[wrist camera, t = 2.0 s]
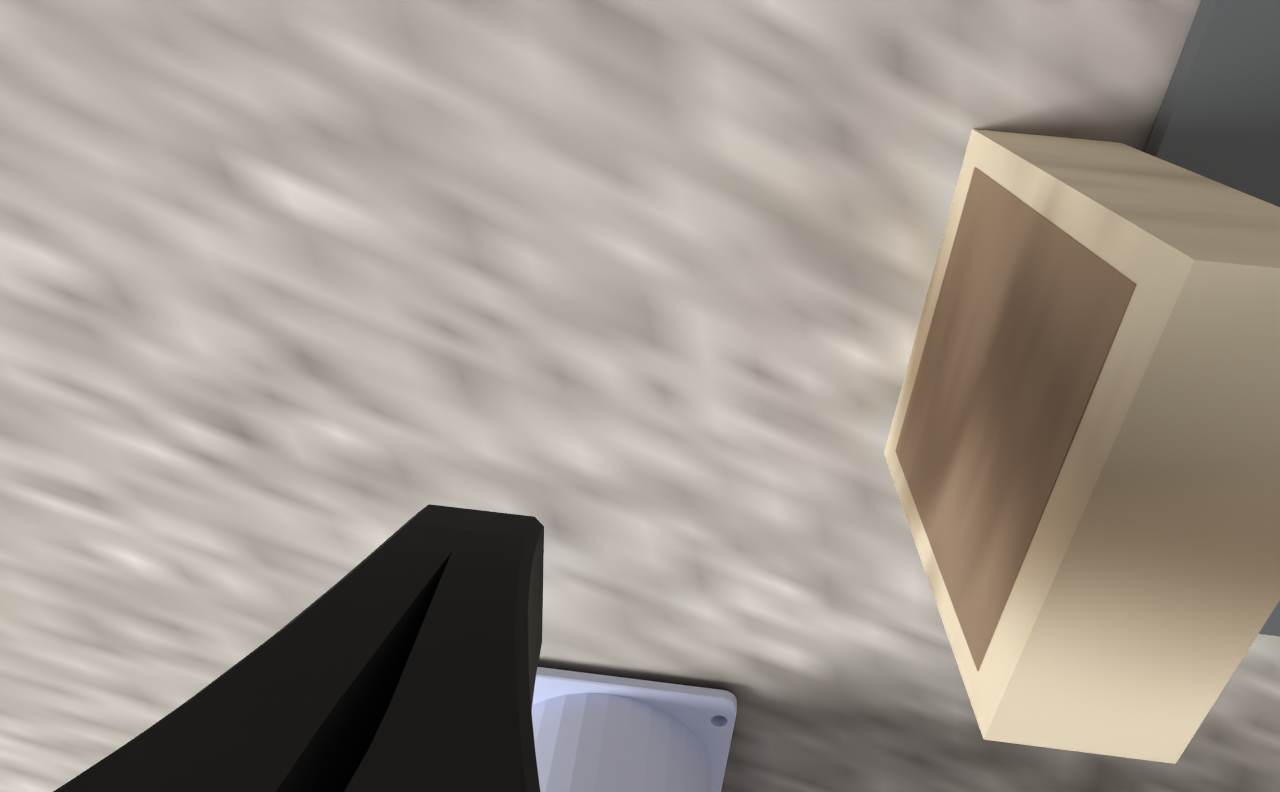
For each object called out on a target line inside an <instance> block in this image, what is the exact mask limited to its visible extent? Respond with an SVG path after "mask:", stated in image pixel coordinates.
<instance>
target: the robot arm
mask: <svg viewBox="0 0 1280 792" xmlns="http://www.w3.org/2000/svg"><path fill="white" fill-rule="evenodd" d="M543 552H544V526H543V525H542V524H541V523H540V522H539V521H538V520H537V519H536V518H535V517H532V516H523V515H514V514H506V513H497V512H489V511H480V510H472V509H463V508H454V507H446V506H437V505H428V506H426V507H425V508H424V509H422V510H421V511H420V512H418V513H417V514H416V515H415V516H414V517H413V518H411V519H410V520H409V521H408V522H407V523H406V524H404V525H403V526H402V527H401V528H400V529H399V530H398V531H396V532H395V533H394V534H393V535H392V536H391V537H390V538H388V539H387V540H386V541H385V542H384V543H383V544H382V545H380V546H379V547H378V548H377V549H376V550H375V551H374V552H373V553H371V554H370V555H369V556H368V557H367V558H366V559H364V560H363V561H362V562H361V563H360V564H359V565H358V566H356V567H355V568H354V569H353V570H352V571H351V572H349V573H348V574H347V575H346V576H345V577H344V578H342V579H341V580H340V581H339V582H338V583H337V584H335V585H334V586H333V587H332V588H331V589H329V590H328V591H327V592H326V593H325V594H323V595H322V596H321V597H320V598H319V599H317V600H316V601H315V602H314V603H312V604H311V605H310V606H309V607H308V608H306V609H305V610H304V611H303V612H302V613H300V614H299V615H298V616H297V617H296V618H294V619H293V620H292V621H291V622H289V623H288V624H287V625H286V626H285V627H283V628H282V629H281V630H280V631H278V632H277V633H276V634H275V635H273V636H272V637H271V638H270V639H268V640H267V641H266V642H265V643H263V644H262V645H261V646H259V647H258V648H257V649H255V650H254V651H253V652H251V653H250V654H249V655H248V656H246V657H245V658H244V659H242V660H241V661H240V662H238V663H237V664H236V665H234V666H233V667H232V668H230V669H229V670H228V671H226V672H225V673H224V674H222V675H221V676H220V677H218V678H217V679H216V680H215V681H213V682H212V683H211V684H209V685H208V686H207V687H205V688H204V689H203V690H201V691H200V692H199V693H197V694H196V695H195V696H193V697H192V698H191V699H189V700H188V701H187V702H185V703H184V704H182V705H181V706H180V707H178V708H177V709H175V710H174V711H173V712H171V713H170V714H168V715H167V716H165V717H164V718H163V719H161V720H160V721H158V722H157V723H156V724H154V725H153V726H151V727H150V728H149V729H147V730H146V731H144V732H143V733H141V734H140V735H138V736H137V737H135V738H134V739H132V740H131V741H130V742H128V743H127V744H125V745H124V746H122V747H121V748H119V749H118V750H116V751H115V752H113V753H112V754H110V755H109V756H107V757H106V758H104V759H103V760H101V761H100V762H98V763H97V764H95V765H93V766H92V767H90V768H89V769H87V770H86V771H84V772H83V773H81V774H80V775H78V776H77V777H75V778H74V779H72V780H71V781H69V782H68V783H66V784H65V785H63V786H61V787H60V788H58V789H57V790H55V791H54V792H721V789H722V784H723V779H724V774H725V769H726V764H727V759H728V754H729V749H730V744H731V739H732V734H733V729H734V724H735V719H736V714H737V699H736V697H735V696H734V695H733V694H732V693H730V692H729V691H725V690H719V689H711V688H703V687H695V686H687V685H679V684H671V683H663V682H655V681H647V680H639V679H631V678H623V677H615V676H607V675H599V674H591V673H583V672H575V671H567V670H559V669H551V668H543V667H537V666H538V661H539V655H540V649H541V644H542V606H543ZM717 715H721V716H717Z"/></svg>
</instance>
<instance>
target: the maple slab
mask: <svg viewBox="0 0 1280 792" xmlns="http://www.w3.org/2000/svg"><path fill="white" fill-rule="evenodd" d="M884 455H885V458H886V460H887V463H888V466H889V469H890V472H891V475H892V478H893V481H894V483H895V486H896V489H897V492H898V495H899V498H900V501H901V504H902V506H903V509H904V512H905V515H906V518H907V521H908V524H909V527H910V529H911V532H912V535H913V538H914V541H915V544H916V547H917V550H918V552H919V555H920V558H921V561H922V564H923V567H924V570H925V573H926V575H927V578H928V581H929V584H930V587H931V590H932V593H933V596H934V598H935V601H936V604H937V607H938V610H939V613H940V616H941V619H942V621H943V624H944V627H945V630H946V633H947V636H948V639H949V642H950V644H951V647H952V650H953V653H954V656H955V659H956V662H957V665H958V667H959V670H960V673H961V676H962V679H963V682H964V685H965V688H966V690H967V693H968V696H969V699H970V702H971V705H972V708H973V711H974V713H975V716H976V719H977V722H978V725H979V728H980V731H981V734H982V736H983V739H984V740H991V741H999V742H1007V743H1015V744H1023V745H1031V746H1039V747H1046V748H1054V749H1062V750H1070V751H1078V752H1086V753H1094V754H1102V755H1110V756H1117V757H1125V758H1133V759H1141V760H1149V761H1157V762H1165V763H1173V764H1176V762H1177V761H1178V759H1179V758H1180V756H1181V755H1182V753H1183V751H1184V750H1185V748H1186V747H1187V745H1188V744H1189V742H1190V740H1191V739H1192V737H1193V736H1194V734H1195V733H1196V731H1197V729H1198V728H1199V726H1200V725H1201V723H1202V722H1203V720H1204V718H1205V717H1206V715H1207V714H1208V712H1209V711H1210V709H1211V707H1212V706H1213V704H1214V703H1215V701H1216V700H1217V698H1218V696H1219V695H1220V693H1221V692H1222V690H1223V689H1224V687H1225V685H1226V684H1227V682H1228V681H1229V679H1230V678H1231V676H1232V675H1233V673H1234V671H1235V670H1236V668H1237V667H1238V665H1239V664H1240V662H1241V660H1242V659H1243V657H1244V656H1245V654H1246V653H1247V651H1248V649H1249V648H1250V646H1251V645H1252V643H1253V642H1254V640H1255V638H1256V637H1257V635H1258V634H1259V632H1260V631H1261V629H1262V627H1263V626H1264V624H1265V623H1266V621H1267V620H1268V618H1269V616H1270V615H1271V613H1272V612H1273V610H1274V609H1275V607H1276V605H1277V604H1278V602H1279V601H1280V207H1278V206H1275V205H1273V204H1270V203H1268V202H1265V201H1263V200H1261V199H1258V198H1256V197H1253V196H1251V195H1248V194H1246V193H1243V192H1241V191H1238V190H1236V189H1233V188H1231V187H1228V186H1226V185H1224V184H1221V183H1219V182H1216V181H1214V180H1211V179H1209V178H1206V177H1204V176H1201V175H1199V174H1196V173H1194V172H1191V171H1189V170H1187V169H1184V168H1182V167H1179V166H1177V165H1174V164H1172V163H1169V162H1167V161H1164V160H1162V159H1159V158H1157V157H1154V156H1152V155H1150V154H1147V153H1145V152H1142V151H1140V150H1137V149H1135V148H1132V147H1130V146H1127V145H1125V144H1122V143H1119V142H1108V141H1097V140H1086V139H1075V138H1065V137H1054V136H1043V135H1032V134H1021V133H1010V132H1000V131H989V130H978V129H972V131H971V135H970V139H969V143H968V146H967V150H966V154H965V157H964V161H963V165H962V168H961V172H960V176H959V179H958V183H957V187H956V190H955V194H954V198H953V201H952V205H951V209H950V213H949V216H948V220H947V224H946V227H945V231H944V235H943V238H942V242H941V246H940V249H939V253H938V257H937V260H936V264H935V268H934V271H933V275H932V279H931V282H930V286H929V290H928V294H927V297H926V301H925V305H924V308H923V312H922V316H921V319H920V323H919V327H918V330H917V334H916V338H915V341H914V345H913V349H912V352H911V356H910V360H909V363H908V367H907V371H906V375H905V378H904V382H903V386H902V389H901V393H900V397H899V400H898V404H897V408H896V411H895V415H894V419H893V422H892V426H891V430H890V433H889V437H888V441H887V445H886V448H885V452H884Z"/></svg>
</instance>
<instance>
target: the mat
mask: <svg viewBox="0 0 1280 792" xmlns="http://www.w3.org/2000/svg"><path fill="white" fill-rule="evenodd" d="M1144 152H1145V153H1147V154H1150V155H1152V156H1154V157H1157V158H1159V159H1162V160H1164V161H1167V162H1169V163H1172V164H1174V165H1177V166H1179V167H1182V168H1184V169H1187V170H1189V171H1191V172H1194V173H1196V174H1199V175H1201V176H1204V177H1206V178H1209V179H1211V180H1214V181H1216V182H1219V183H1221V184H1224V185H1226V186H1228V187H1231V188H1233V189H1236V190H1238V191H1241V192H1243V193H1246V194H1248V195H1251V196H1253V197H1256V198H1258V199H1261V200H1263V201H1265V202H1268V203H1270V204H1273V205H1275V206H1278V207H1280V0H1202V1H1201V3H1200V6H1199V9H1198V11H1197V14H1196V16H1195V19H1194V22H1193V24H1192V27H1191V30H1190V32H1189V35H1188V38H1187V40H1186V43H1185V45H1184V48H1183V51H1182V53H1181V56H1180V59H1179V61H1178V64H1177V66H1176V69H1175V72H1174V74H1173V77H1172V80H1171V82H1170V85H1169V87H1168V90H1167V93H1166V95H1165V98H1164V101H1163V103H1162V106H1161V109H1160V111H1159V114H1158V116H1157V119H1156V122H1155V124H1154V127H1153V130H1152V132H1151V135H1150V137H1149V140H1148V143H1147V145H1146V148H1145V151H1144ZM1259 634H1266V635H1274V636H1280V601H1279V602H1278V604H1277V605H1276V607H1275V609H1274V610H1273V612H1272V613H1271V615H1270V616H1269V618H1268V620H1267V621H1266V623H1265V624H1264V626H1263V627H1262V629H1261V631H1260V632H1259Z"/></svg>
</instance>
